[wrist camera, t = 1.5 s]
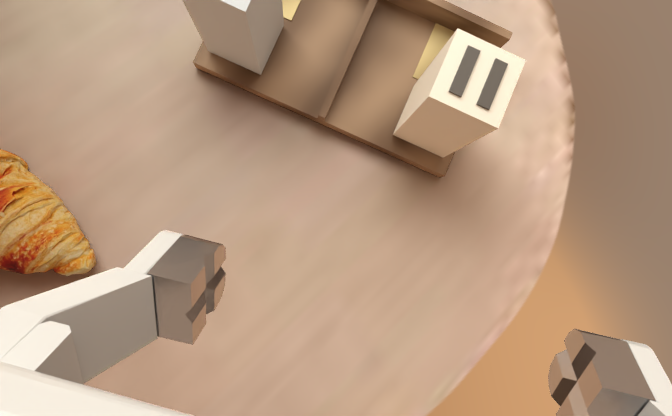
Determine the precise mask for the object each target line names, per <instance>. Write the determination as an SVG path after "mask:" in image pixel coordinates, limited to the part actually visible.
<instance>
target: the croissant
mask: <svg viewBox="0 0 672 416" xmlns="http://www.w3.org/2000/svg"><path fill="white" fill-rule="evenodd" d="M95 265H96V259H95V254H94V251H93V249H90V244H89V242H88V240H87V239H86V238H85V237H84V235H83V233H82V232H81V230H80V228H79V226H78V224H77V222H76V219H75V218H74V216H73V215H72V214H71V212H69V211H68V210H67V208H66V207H65V206H64V204H63V201H62V200H61V199H60V198H59V197H58V196H57V195H56V194H55V192H54V191H53V190H52V189H51V188H50V187H48V186H46V185H45V184H44V183H43V182H41V181H40V180H39V179H38V178H37V177H36V176H35V175H33V174H32V173H31V172H29V171H28V165H27V163H26V162H25V161H24V160H23V159H22V158H20V157H19V156H17V155H15V154H12V153H10V152H8V151H4V150H1V149H0V269H3V270H8V271H13V272H17V273H21V274H30V273H34V272H47V271H48V270H51V269H54V271H55V272H56V273H59V274H61V275H66V276H69V275H71V274H84V273H87V272H88V271H90V270H91V268H93V267H94V266H95Z"/></svg>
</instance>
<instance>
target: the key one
mask: <svg viewBox="0 0 672 416" xmlns="http://www.w3.org/2000/svg"><path fill="white" fill-rule="evenodd" d="M183 2H184V4H185V6H186V8H187V10H188V12H189V14H190V16H191V18H192V20H193V22H194V24H195V26H196V28H197V30H198V32H199V34H200V36H201V38H202V40H203V42H204V44H205V46H206V48H207V50H208V51H209V52H211V53H213V54H216V55H218V56H220V57H222V58H224V59H227V60H229V61H231V62H233V63H235V64H238V65H240V66H242V67H244V68H246V69H249V70H251V71H253V72H255V73H257V74H260V75H261V74H262V71H263V69H264V67H265V65H266V63H267V61H268V58H269V56H270V54H271V52H272V50H273V48H274V46H275V43H276V41H277V39H278V37H279V35H280V33H281V31H282V28H283V26H284V18H283V5H282V0H183Z"/></svg>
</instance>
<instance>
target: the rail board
mask: <svg viewBox="0 0 672 416" xmlns="http://www.w3.org/2000/svg"><path fill="white" fill-rule="evenodd" d="M282 5H283V18H284V26H283V28H282V31H281V33H280V35H279V37H278V39H277V41H276V43H275V46H274V48H273V50H272V52H271V54H270V56H269V58H268V61H267V63H266V65H265V67H264V69H263V71H262V74H261V75H260V74H257V73H255V72H253V71H251V70H249V69H246V68H244V67H242V66H240V65H238V64H235V63H233V62H231V61H229V60H227V59H224V58H222V57H220V56H218V55H216V54H213V53H211V52H209V51H208V50H207V48H206V46H205V44H204V42H202V44H201V46H200V49H199V51H198V53H197V55H196V57H195V59H194V61H193V63H194V65H195V66H196V68H198V69H200V70H202V71H204V72H207V73H209V74H211V75H213V76H216V77H218V78H220V79H222V80H224V81H227V82H229V83H231V84H233V85H236V86H238V87H240V88H242V89H244V90H247V91H249V92H251V93H253V94H256V95H258V96H260V97H262V98H264V99H267V100H269V101H271V102H273V103H276V104H278V105H280V106H282V107H284V108H287V109H289V110H291V111H293V112H295V113H298V114H300V115H302V116H304V117H307V118H309V119H311V120H313V121H315V122H318V123H320V124H322V125H324V126H327V127H329V128H331V129H333V130H335V131H338V132H340V133H342V134H344V135H347V136H349V137H351V138H353V139H355V140H358V141H360V142H362V143H364V144H366V145H369V146H371V147H373V148H375V149H378V150H380V151H382V152H384V153H386V154H389V155H391V156H393V157H395V158H398V159H400V160H402V161H404V162H406V163H409V164H411V165H413V166H415V167H418V168H420V169H422V170H424V171H426V172H429V173H431V174H433V175H435V176H438V177H440V178H441V177H443V176H445V174H446V172H447V169H448V167H449V164H450V162H451V160H452V157H453V155H454V152H453V153H451V154H449V155H447V156H445V157H440V156H438V155H436V154H434V153H432V152H429V151H427V150H425V149H423V148H421V147H418V146H416V145H414V144H412V143H410V142H407V141H405V140H403V139H401V138H399V137H396V136H394V135H393V133H394V131H395V128H396V126H397V124H398V121H399V119H400V117H401V114H402V112H403V110H404V107H405V105H406V103H407V100H408V98H409V96H410V93H411V91H412V89H413V86H414V85H415V83H416V82H417V81H418V79H419V78H420V77H421V75H422V74H423V73H424V72H425V70H426V69H427V68H428V66H429V65H430V64H431V62H432V61H433V60H434V59H435V57H436V56H437V55H438V53H439V52H440V51H441V49H442V48H443V47H444V45H445V44H446V43H447V42H448V40H449V39H450V38H451V36H452V35H453V34H454V32H455V31H456V30H457V29H461V30H463V31H465V32H467V33H469V34H471V35H473V36H475V37H478V38H480V39H482V40H484V41H486V42H488V43H490V44H492V45H495V46H497V47H499V48H501V47H502V46H503V45H504V44H505V43H506V42H507V41H509V40H510V38H511V35H512V32H510V31H508V30H506V29H504V28H502V27H500V26H498V25H495V24H493V23H491V22H489V21H487V20H485V19H483V18H481V17H479V16H476V15H474V14H472V13H470V12H468V11H466V10H464V9H462V8H460V7H457V6H455V5H453V4H451V3H449V2H447V1H445V0H282Z"/></svg>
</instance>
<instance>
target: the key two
mask: <svg viewBox="0 0 672 416" xmlns="http://www.w3.org/2000/svg"><path fill="white" fill-rule="evenodd" d="M525 61H526V60H524V59H522V58H520V57H518V56H516V55H514V54H512V53H509V52H507V51H505V50H503V49H501V48H499V47H497V46H495V45H492V44H490V43H488V42H486V41H484V40H482V39H480V38H478V37H475V36H473V35H471V34H469V33H467V32H465V31H463V30H461V29H457V30H456V31H455V32H454V34H453V35H452V36H451V38H450V39H449V40H448V42H447V43H446V44H445V45H444V47H443V48H442V49H441V51H440V52H439V53H438V55H437V56H436V57H435V59H434V60H433V61H432V62H431V64H430V65H429V66H428V68H427V69H426V70H425V72H424V73H423V74H422V75H421V77H420V78H419V79H418V81H417V82H416V83H415V85H414V86H413V89H412V91H411V93H410V96H409V98H408V100H407V103H406V105H405V107H404V110H403V112H402V114H401V117H400V119H399V121H398V124H397V126H396V128H395V131H394V133H393V135H394V136H396V137H399V138H401V139H403V140H405V141H407V142H410V143H412V144H414V145H416V146H418V147H421V148H423V149H425V150H427V151H429V152H432V153H434V154H436V155H438V156H440V157H445V156H447V155H449V154H451V153H453V152H455V151H457V150H458V149H460V148H462V147H464V146H466V145H468V144H470V143H472V142H473V141H475V140H477V139H479V138H481V137H483V136H485V135H487V134H488V133H490V132H492V131H494V130H496V129H498V128H499V125H500V123H501V120H502V118H503V115H504V113H505V110H506V108H507V106H508V103H509V101H510V98H511V96H512V93H513V91H514V88H515V86H516V83H517V81H518V79H519V76H520V74H521V71H522V69H523V66H524V64H525Z"/></svg>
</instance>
